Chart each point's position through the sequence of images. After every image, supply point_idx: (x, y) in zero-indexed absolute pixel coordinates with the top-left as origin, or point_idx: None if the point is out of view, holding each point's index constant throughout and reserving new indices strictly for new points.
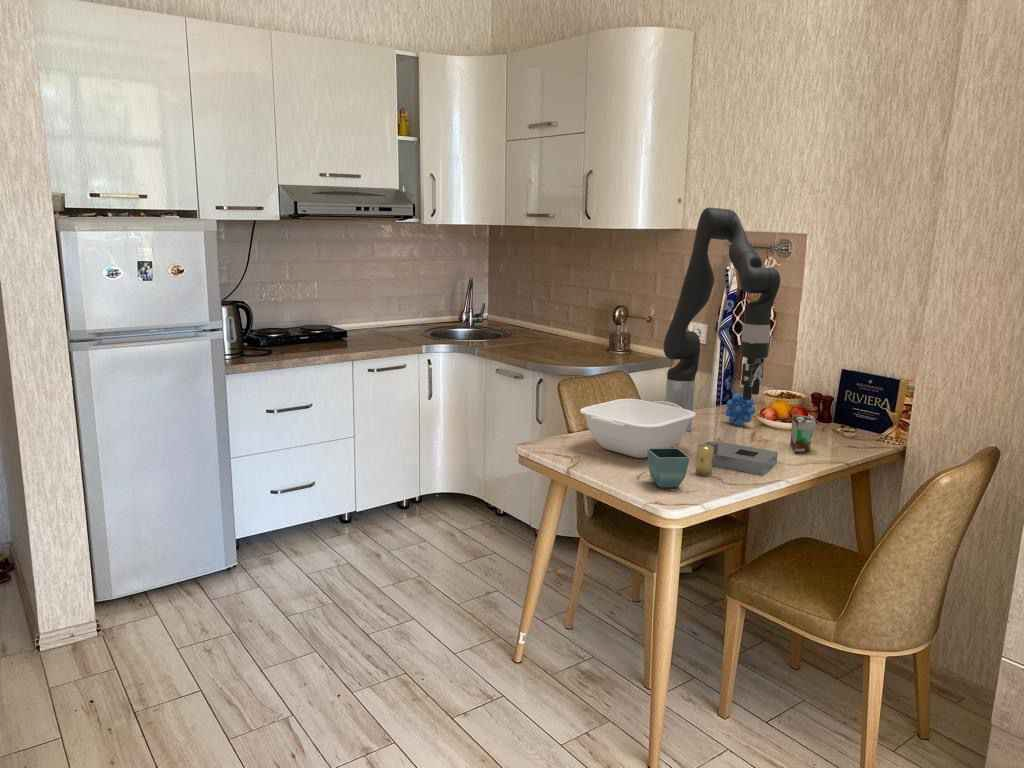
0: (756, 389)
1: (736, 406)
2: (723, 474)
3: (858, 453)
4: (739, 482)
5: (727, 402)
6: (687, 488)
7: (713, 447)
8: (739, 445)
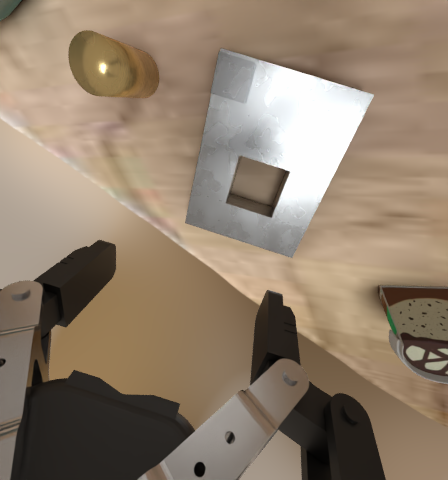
0: (258, 332)
1: None
2: (162, 127)
3: (395, 377)
4: (127, 164)
5: None
6: (21, 44)
7: (98, 94)
8: (332, 169)
